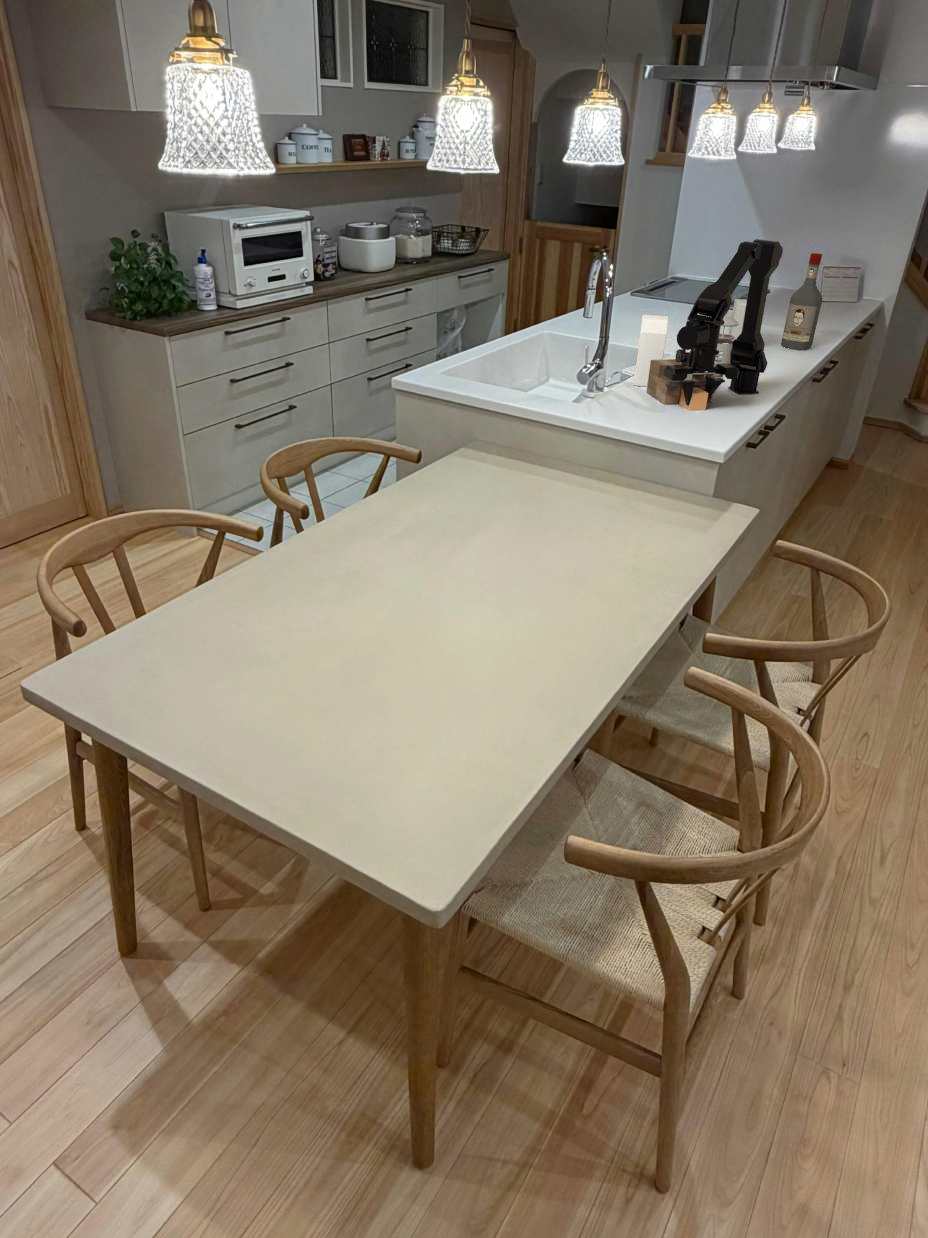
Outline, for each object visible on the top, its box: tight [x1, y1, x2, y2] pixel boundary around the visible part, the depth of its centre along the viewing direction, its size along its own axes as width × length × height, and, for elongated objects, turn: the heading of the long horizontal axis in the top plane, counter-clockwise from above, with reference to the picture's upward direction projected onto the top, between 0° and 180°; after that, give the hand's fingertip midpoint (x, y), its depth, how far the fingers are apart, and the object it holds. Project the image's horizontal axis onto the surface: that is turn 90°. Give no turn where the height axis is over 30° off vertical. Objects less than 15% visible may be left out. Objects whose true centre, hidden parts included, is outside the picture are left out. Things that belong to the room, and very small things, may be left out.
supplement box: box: [728, 298, 747, 344], centre depth 287 cm, size 9×9×15 cm
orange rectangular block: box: [678, 386, 708, 412], centre depth 226 cm, size 4×10×4 cm, turn 12°
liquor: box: [780, 252, 823, 351], centre depth 285 cm, size 9×9×30 cm
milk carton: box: [633, 314, 669, 387], centre depth 240 cm, size 7×7×19 cm
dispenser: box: [646, 358, 713, 406], centre depth 230 cm, size 15×13×9 cm
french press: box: [714, 312, 739, 366], centre depth 258 cm, size 10×12×25 cm
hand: (695, 404), depth 223 cm, fingers closed on orange rectangular block, 4 cm apart
